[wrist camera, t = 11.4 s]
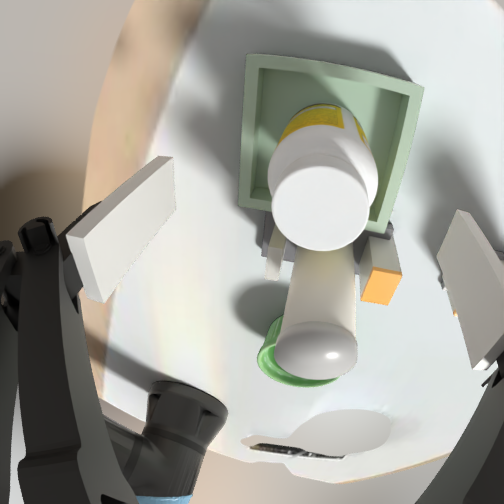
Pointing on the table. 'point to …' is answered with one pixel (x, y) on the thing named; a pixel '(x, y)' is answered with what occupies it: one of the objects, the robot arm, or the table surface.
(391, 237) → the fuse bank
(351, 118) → the supplement bottle
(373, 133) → the tray
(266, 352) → the ramekin
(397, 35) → the table surface
